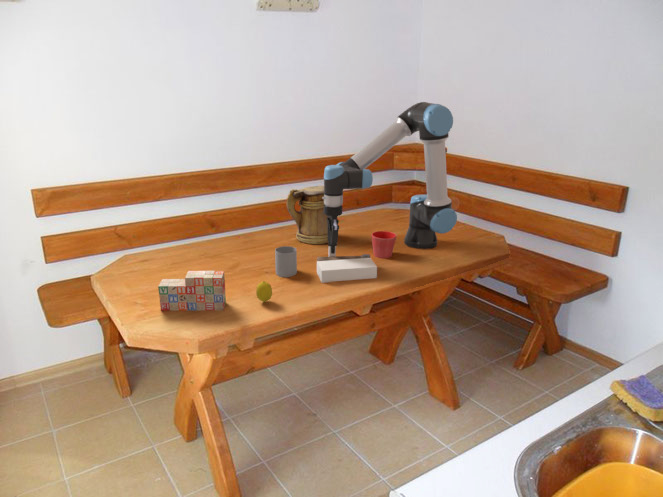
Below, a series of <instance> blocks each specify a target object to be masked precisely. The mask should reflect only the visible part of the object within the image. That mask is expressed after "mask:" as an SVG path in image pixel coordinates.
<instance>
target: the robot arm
mask: <svg viewBox="0 0 663 497" xmlns="http://www.w3.org/2000/svg"><path fill="white" fill-rule="evenodd" d="M453 124H454V117H453V113H452V112H451V110H450V109H449V108H448V107H446V106H445V105H442V104H439V103H431V102H426V101H420V102H417V103H415V104H413V105H411V106H410V107H409V108H408V107H407V108H406V110H404V111H403V112H402V113H400V114H399V115H398V116H397V117H395V121H394V122H393V123H392V124H390V125H389V126H388V127H387V128H386V129H384V130H383V131H382V132H381V133H379V134H378V135H377V136H376V137H374V138H373V139H371V141H369V142H368V143H367V144H365V145H364V146H363V147H362V148H361V149H360V150H359V151H357V152H356V153H355V154H353V155H352V156H351V157H350V158H349V159H347V160H346V161H340V162H338V163H337V164H330V165H327V166H325V168H324V171H323V172H324V173H323V186H324V197H322V198H323V199H324V204H325V205H324V214H325V215H327V216H328V217H327V234H328V239H327V240H328V241H329V242H328V243H327V247H328V256H327V257H332V256H337V255H336V254H337V246H338V242H339V240H338V239H339V229H340V225H339V219H338V217H339V216H342V214H343V203H344V190H358V189H359V190H364V189H368V188H371V187H372V185H373V172H372V171H371V169H369V168H368V167H369V166H371V165H372V164H373V163H374V162H376V161H377V160H378V159H380V157H382V156H383V155H384V154H385V153H387V152H389V150H391V149H392V148H393V147H394V146H395V145H396V144H398V143H399V142H401V141H402V140H403V139H404V138H406V137H410V136H412V135H413V134H415V133H417V132H419V140H420V141H421V142H422V143H423V153H424V154H423V155H424V169H425V183H426V184H425V186H426V194H415V195H413V196H411V197H410V203H409V221H408V225H409V226H408V228H407V231H406V234H405V236H404V239H403V240H404V241H403V242H404V244H405V246H407V247H409V248H412V249H413V248H414V249H419V250H420V249H421V250H426V249H433V248H436V247H437V245H438V237H437V234H447V233H448V232H451V231H452V229H453V228H454V227H455V225H456V224H457V221H458V215H457V212H456V211H455V209H453V208H452V207H453V205H452V203H453V202H452V199H451V198H450V197H449V196H448V178H447V176H448V175H447V157H446V141H447V140H448V138H449V137H450V136H449V133H450V131H451V129H452V127H453ZM367 168H368V169H367ZM436 233H437V234H436Z"/></svg>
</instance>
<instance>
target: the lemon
mask: <svg viewBox="0 0 663 497" xmlns="http://www.w3.org/2000/svg"><path fill="white" fill-rule="evenodd" d="M255 294H256V296H257V299H258V300H259V301H261V302H263V303H266V302H268V301H270V299H272V296H273V288H272V286H271V284H270V283H269V282H267V281H261V282H260V283H258V285H257V286H256V293H255Z"/></svg>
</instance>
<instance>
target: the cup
mask: <svg viewBox="0 0 663 497" xmlns="http://www.w3.org/2000/svg"><path fill="white" fill-rule="evenodd" d="M297 253H298V252H297V248H296V247H294V246H290V245H283V246H279V247H276V248H275V249H274V258H275V259H274V261H275V262H274V263H275V274H276V276H278V277H279V278H280V277H281V278H292V276H295V275H296V274H297V273H298V264H297V263H298V262H297V261H298V259H297V258H298V257H297V255H298V254H297Z"/></svg>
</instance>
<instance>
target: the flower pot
mask: <svg viewBox="0 0 663 497" xmlns="http://www.w3.org/2000/svg"><path fill="white" fill-rule="evenodd" d="M396 240H397V235H396V233H394V232H392V231H387V230H377V231H373V232H372V233H371V243H372V244H371V245H372V251H373V256H374V257H375V258H378V259H389V258H391V257H392V255H393V253H394V252H393V251H394V248H395V244H396Z"/></svg>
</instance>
